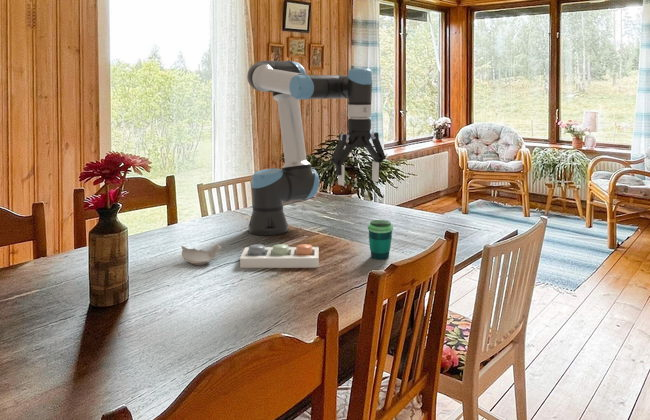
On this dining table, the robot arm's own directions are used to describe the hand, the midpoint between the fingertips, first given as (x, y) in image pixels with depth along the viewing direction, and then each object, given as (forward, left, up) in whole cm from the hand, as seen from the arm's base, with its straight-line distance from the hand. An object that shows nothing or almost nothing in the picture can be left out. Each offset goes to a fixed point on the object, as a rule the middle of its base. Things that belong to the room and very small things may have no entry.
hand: (358, 183), depth 182 cm
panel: (-15, -24, -23) cm, 36 cm away
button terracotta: (-8, -20, -20) cm, 29 cm away
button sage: (-15, -24, -20) cm, 34 cm away
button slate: (-21, -28, -20) cm, 40 cm away
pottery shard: (-35, -38, -23) cm, 57 cm away
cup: (+10, -4, -23) cm, 26 cm away
